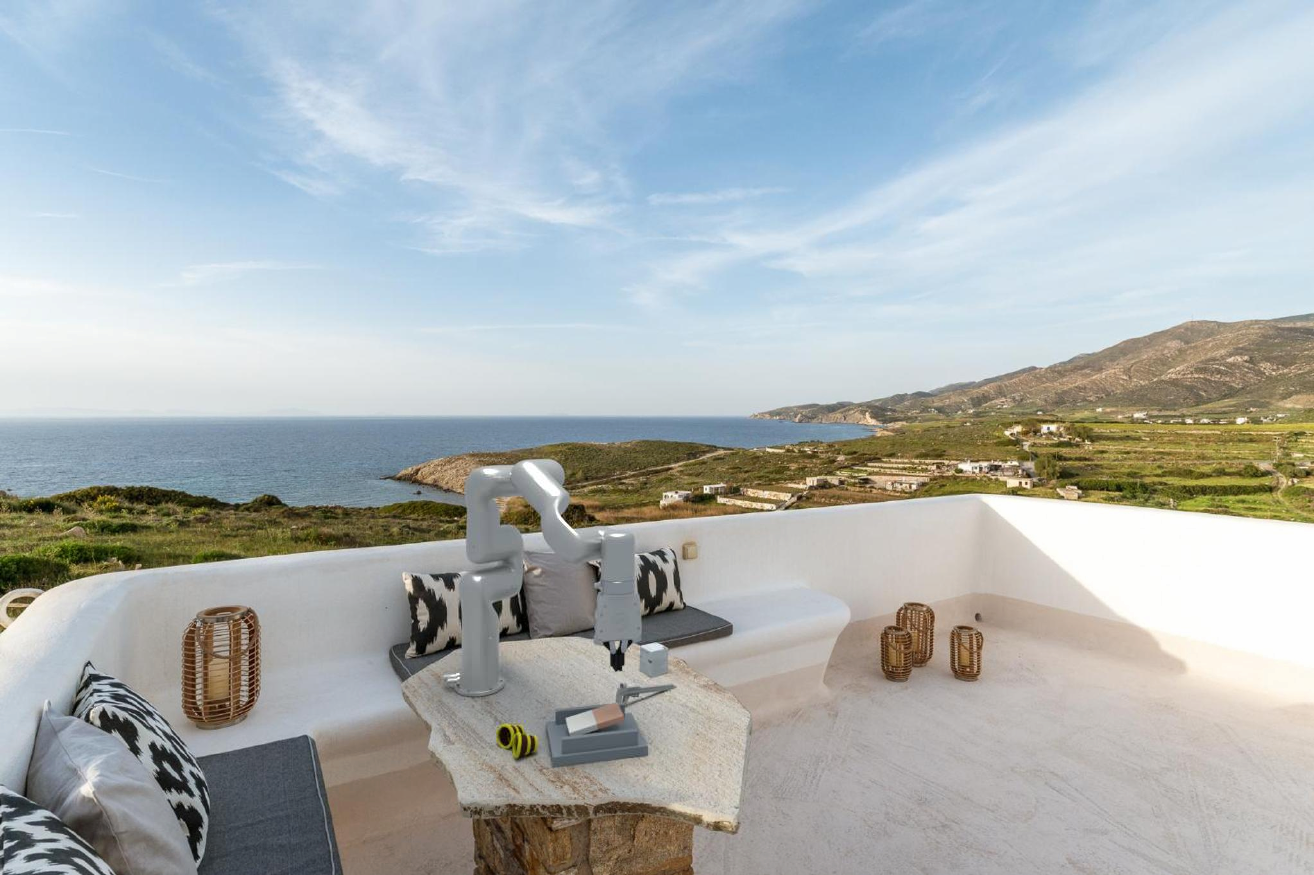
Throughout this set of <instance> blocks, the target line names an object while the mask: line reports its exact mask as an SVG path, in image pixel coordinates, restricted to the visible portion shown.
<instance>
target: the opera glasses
mask: <svg viewBox="0 0 1314 875" xmlns="http://www.w3.org/2000/svg"><path fill="white" fill-rule="evenodd" d="M495 738H496V743H497V744H498V746H499V747H500V748H502V749H504V750H508V749H510V748H511V747H512V755H513V758H514V759H518V758H519V757H520V756H527V755H528V754H535V753H536V752H537V751H538V746H539V741H538V737H537V735H535V734H533V735H529V734H528V733H526V732H525V728H524V726H523V725H522V724H517V725H514V724H508V723H503V724H501V725H500V726H499V727H498V728H497V729H496V735H495Z"/></svg>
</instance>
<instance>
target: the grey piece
mask: <svg viewBox="0 0 1314 875" xmlns="http://www.w3.org/2000/svg"><path fill="white" fill-rule="evenodd" d="M609 704H610V703H605V704H595V705H585V706H584V705H583V706H573V707H565V708H555V710H554V711H555V715H554V716H555V718H554V720H549V721H546V722H545V732H546V738H547V744H548V748H549V749H548V750H549V753H550V754H549V755H550V760H551V764H552V768H559V767H565V766H575V765H581V764H591V763H597V762H606V761H612V760H621V759H629V758H637V757H636V756H639V757H645V755H647V756H648V755H649V745H648V743H647V741H646V738H645V737H644V735H643V734H642V731H641V729H640V727H639V725H638V723H637V721H636V718H634V715H633V714H632V712H626V707H625V704H624V702H622V701H621V703H618V705H619V707H620V709H621V711H622V713H623V715H624V720H625V721H623V722H619V723H616V724H613V725H610V726H607V727H604V728H601V729H598V730H595V731H592V732H589V733H586V734H583V735H575V736H570V734H569V731H568V727H567V723H566V718H568V717H571V716H574V715H577V714H580V713H584V712H587V711H590V710H593V709H596V708H599V707H603V706H606V705H609Z"/></svg>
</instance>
